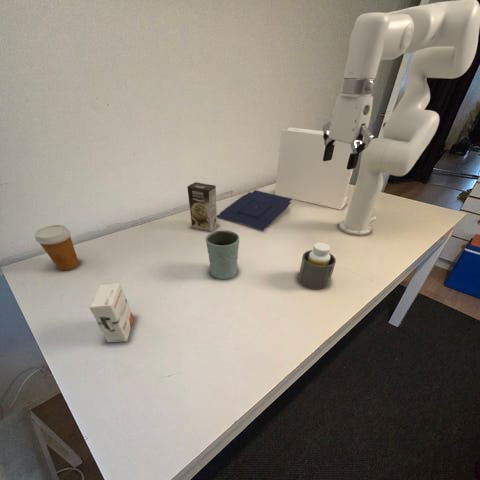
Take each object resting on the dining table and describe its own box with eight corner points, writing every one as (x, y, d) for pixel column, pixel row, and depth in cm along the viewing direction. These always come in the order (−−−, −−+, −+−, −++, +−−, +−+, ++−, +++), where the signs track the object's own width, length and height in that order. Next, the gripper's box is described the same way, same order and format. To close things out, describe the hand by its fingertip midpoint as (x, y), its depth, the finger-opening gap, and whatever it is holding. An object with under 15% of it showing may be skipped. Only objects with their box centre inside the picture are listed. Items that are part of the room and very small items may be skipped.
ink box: (115, 318, 70) (99, 282, 61) (134, 317, 70) (121, 281, 62) (106, 343, 63) (87, 307, 55) (127, 342, 64) (111, 306, 56)
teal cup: (215, 283, 81) (213, 248, 73) (203, 267, 88) (200, 233, 79) (244, 275, 85) (245, 241, 76) (230, 260, 91) (230, 227, 83)
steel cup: (314, 268, 88) (320, 247, 82) (335, 283, 82) (342, 261, 77) (292, 276, 85) (296, 254, 79) (311, 292, 79) (317, 270, 73)
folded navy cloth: (295, 205, 124) (296, 198, 121) (263, 236, 108) (263, 229, 106) (251, 194, 133) (251, 187, 130) (216, 222, 118) (215, 214, 115)
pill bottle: (324, 285, 80) (333, 253, 73) (303, 282, 81) (311, 250, 74) (323, 274, 85) (332, 242, 77) (304, 271, 86) (311, 240, 78)
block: (274, 194, 138) (281, 129, 118) (281, 190, 143) (289, 127, 123) (340, 209, 124) (360, 139, 105) (345, 204, 129) (365, 136, 110)
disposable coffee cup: (90, 260, 90) (75, 227, 81) (68, 275, 83) (50, 240, 75) (68, 255, 92) (51, 222, 83) (45, 269, 85) (25, 235, 77)
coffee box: (191, 228, 108) (186, 186, 97) (198, 221, 113) (194, 181, 101) (211, 232, 106) (208, 189, 95) (217, 225, 110) (215, 184, 99)
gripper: (396, 90, 62) (370, 170, 74) (342, 85, 73) (327, 156, 85) (374, 91, 59) (351, 174, 72) (321, 86, 70) (309, 159, 82)
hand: (338, 164), depth 78 cm, fingers open, 9 cm apart
